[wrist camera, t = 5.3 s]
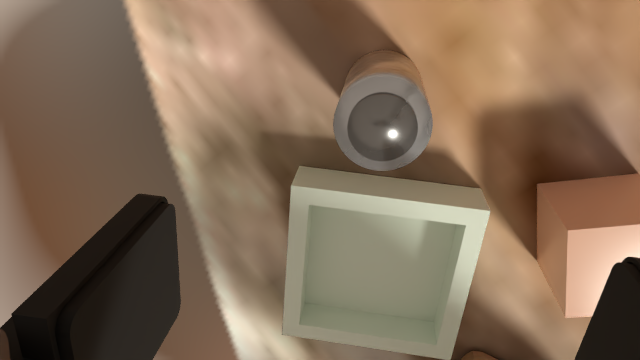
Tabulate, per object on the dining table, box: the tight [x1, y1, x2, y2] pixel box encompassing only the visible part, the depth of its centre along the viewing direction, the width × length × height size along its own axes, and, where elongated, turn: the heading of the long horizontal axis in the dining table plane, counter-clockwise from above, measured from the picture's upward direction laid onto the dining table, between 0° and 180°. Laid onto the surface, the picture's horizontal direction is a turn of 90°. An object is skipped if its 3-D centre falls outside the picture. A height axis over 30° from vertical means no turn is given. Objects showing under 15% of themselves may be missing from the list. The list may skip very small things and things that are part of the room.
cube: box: [537, 173, 640, 318], centre depth 24 cm, size 5×5×5 cm
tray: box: [282, 166, 490, 360], centre depth 28 cm, size 10×10×3 cm
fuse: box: [333, 50, 433, 171], centre depth 22 cm, size 4×4×6 cm
